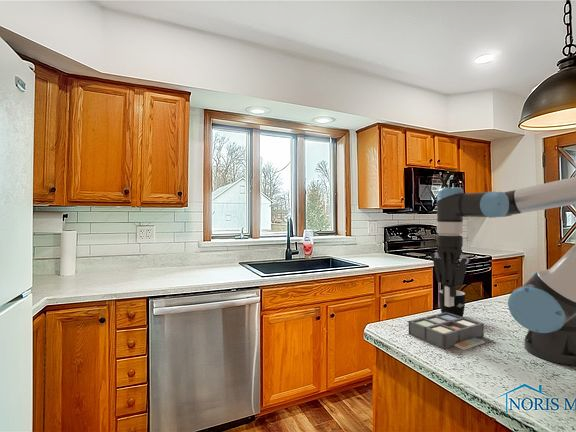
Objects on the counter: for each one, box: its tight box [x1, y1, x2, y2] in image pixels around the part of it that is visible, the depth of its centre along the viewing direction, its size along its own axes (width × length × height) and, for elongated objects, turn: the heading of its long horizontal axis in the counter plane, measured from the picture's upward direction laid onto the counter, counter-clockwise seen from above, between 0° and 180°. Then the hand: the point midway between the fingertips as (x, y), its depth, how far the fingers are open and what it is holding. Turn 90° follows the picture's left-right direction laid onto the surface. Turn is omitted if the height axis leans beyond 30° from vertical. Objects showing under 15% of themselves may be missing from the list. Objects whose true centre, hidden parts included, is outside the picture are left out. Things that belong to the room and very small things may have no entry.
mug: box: [438, 289, 466, 317], centre depth 119 cm, size 12×9×10 cm
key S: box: [431, 326, 452, 333], centre depth 96 cm, size 4×4×2 cm
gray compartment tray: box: [408, 312, 486, 351], centre depth 100 cm, size 17×20×4 cm
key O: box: [458, 320, 475, 326], centre depth 102 cm, size 4×4×2 cm
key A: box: [441, 315, 457, 320], centre depth 107 cm, size 4×4×2 cm
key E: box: [417, 321, 434, 327], centre depth 102 cm, size 4×4×2 cm
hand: (449, 305), depth 100 cm, fingers closed
